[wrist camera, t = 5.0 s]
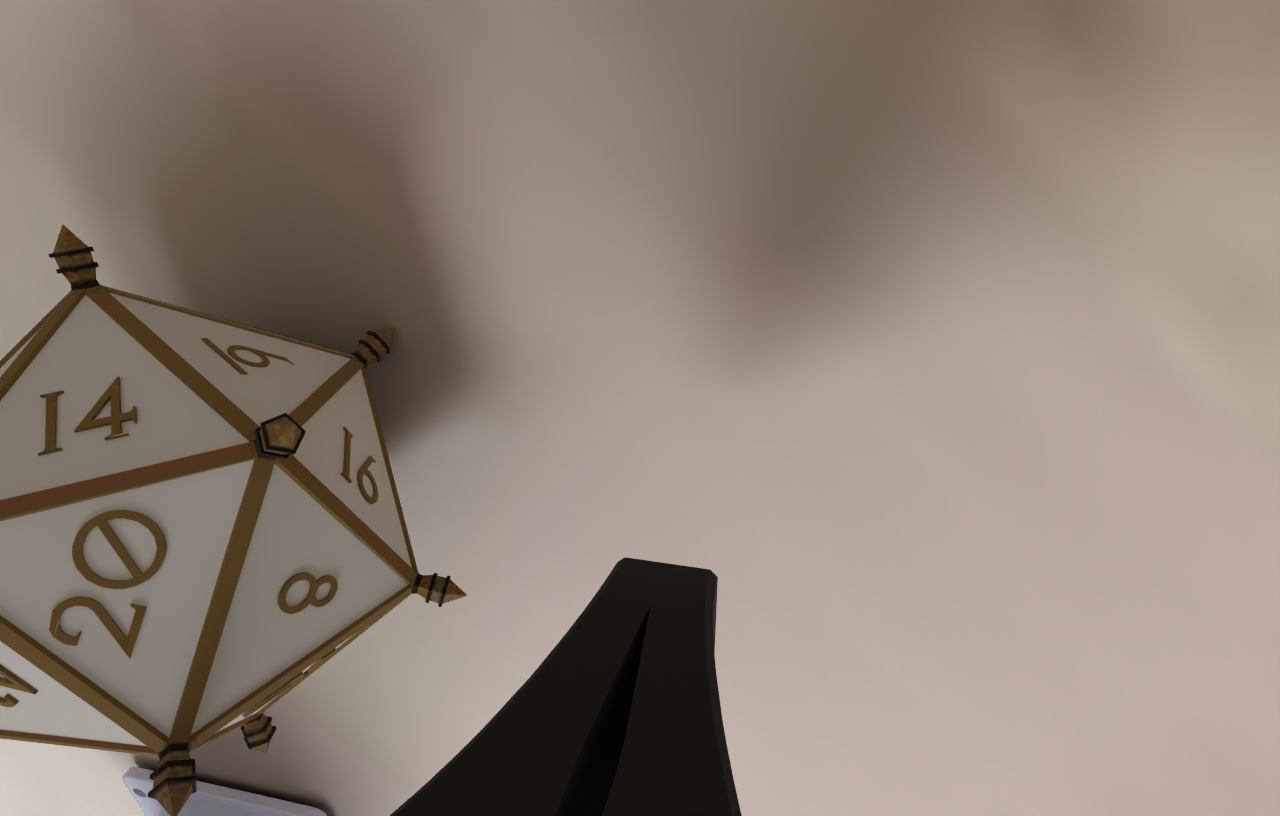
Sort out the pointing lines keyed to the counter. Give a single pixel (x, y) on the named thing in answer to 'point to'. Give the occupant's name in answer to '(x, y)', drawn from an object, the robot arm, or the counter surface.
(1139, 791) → the counter surface
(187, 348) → the game die
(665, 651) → the robot arm
